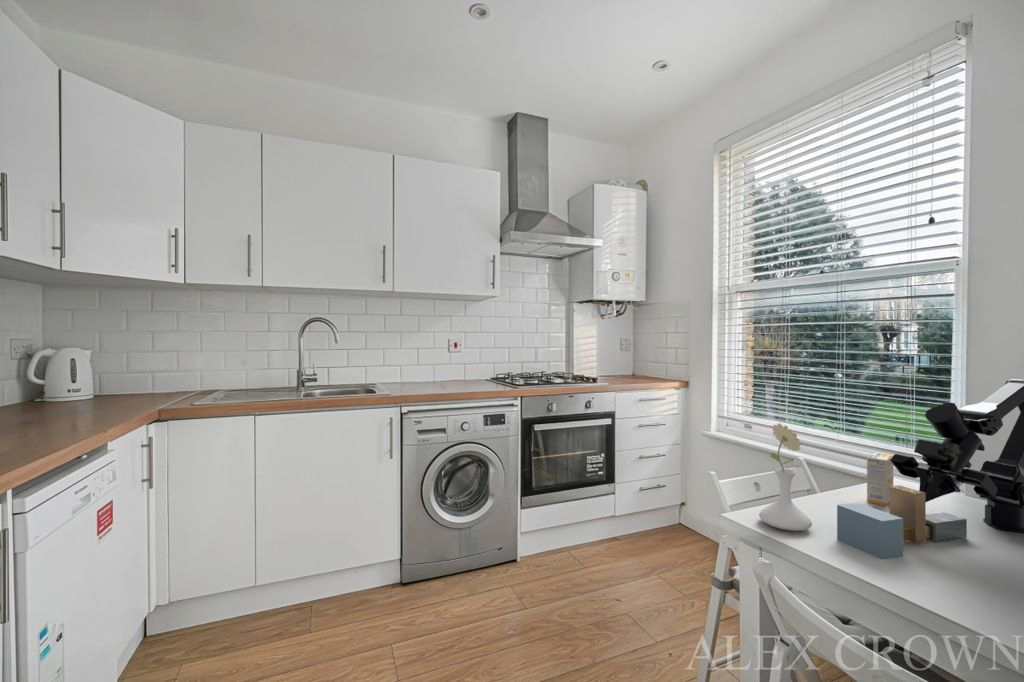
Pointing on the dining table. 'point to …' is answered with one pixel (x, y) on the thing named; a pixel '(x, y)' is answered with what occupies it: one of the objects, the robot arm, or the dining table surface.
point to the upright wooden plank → (911, 513)
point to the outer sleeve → (946, 527)
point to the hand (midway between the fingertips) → (921, 501)
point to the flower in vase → (785, 489)
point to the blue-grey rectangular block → (870, 530)
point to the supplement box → (879, 478)
